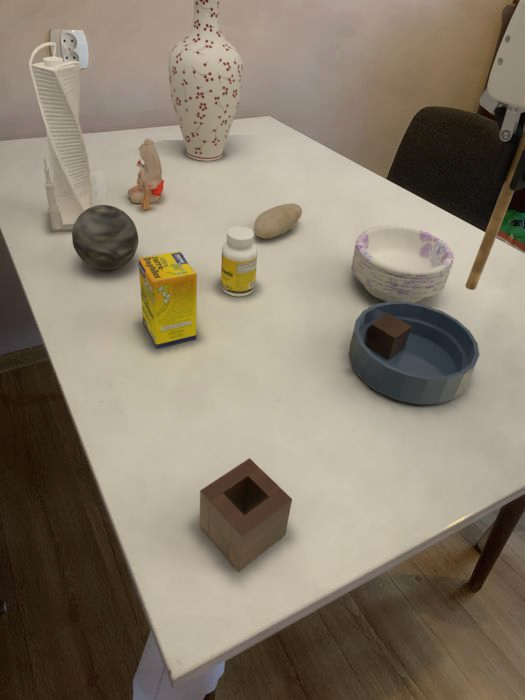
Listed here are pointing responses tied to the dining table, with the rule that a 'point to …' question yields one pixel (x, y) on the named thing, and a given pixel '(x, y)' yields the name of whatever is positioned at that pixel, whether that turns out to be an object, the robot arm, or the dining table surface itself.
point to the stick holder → (256, 501)
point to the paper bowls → (401, 263)
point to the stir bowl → (416, 355)
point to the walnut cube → (388, 336)
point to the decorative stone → (105, 237)
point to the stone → (277, 220)
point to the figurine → (147, 177)
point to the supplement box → (168, 298)
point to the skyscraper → (62, 139)
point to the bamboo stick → (494, 221)
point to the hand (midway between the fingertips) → (510, 183)
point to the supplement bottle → (239, 262)
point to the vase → (205, 83)
